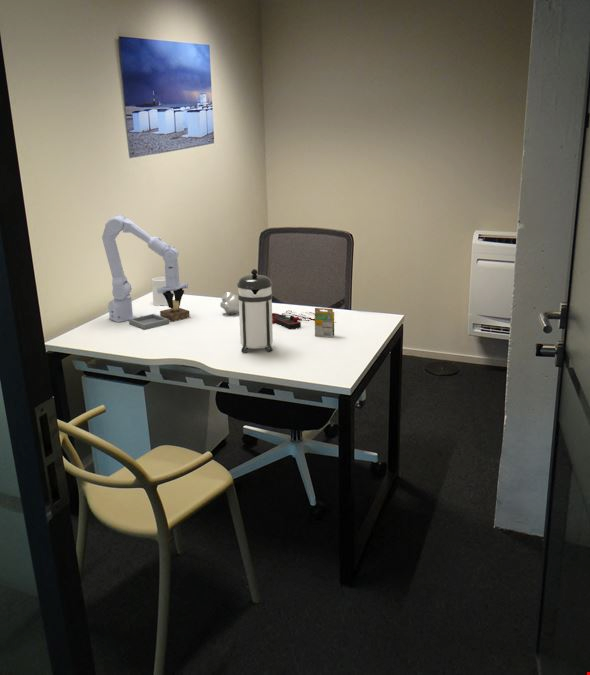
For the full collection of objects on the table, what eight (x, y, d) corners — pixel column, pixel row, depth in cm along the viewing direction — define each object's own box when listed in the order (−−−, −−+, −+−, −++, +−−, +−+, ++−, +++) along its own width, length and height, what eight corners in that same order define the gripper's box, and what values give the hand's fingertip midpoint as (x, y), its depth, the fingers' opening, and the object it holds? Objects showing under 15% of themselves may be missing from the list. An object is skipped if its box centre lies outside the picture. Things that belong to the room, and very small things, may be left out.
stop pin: (173, 316, 291) (172, 302, 289) (170, 315, 293) (169, 300, 291) (179, 315, 293) (178, 300, 291) (175, 313, 295) (174, 299, 293)
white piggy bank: (222, 311, 303) (221, 289, 300) (243, 311, 303) (242, 289, 300) (219, 316, 295) (218, 294, 291) (241, 316, 294) (240, 294, 291)
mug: (180, 303, 317) (178, 278, 313) (168, 307, 310) (166, 282, 306) (161, 300, 323) (159, 275, 319) (149, 304, 316) (147, 279, 312)
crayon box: (334, 335, 267) (334, 307, 263) (332, 337, 264) (332, 309, 260) (316, 334, 268) (316, 305, 265) (314, 336, 266) (314, 307, 262)
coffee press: (287, 347, 253) (285, 268, 244) (254, 357, 243) (252, 275, 234) (256, 337, 265) (254, 262, 256) (224, 346, 254) (220, 268, 245)
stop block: (172, 321, 288) (171, 314, 287) (160, 317, 294) (160, 311, 293) (189, 317, 294) (189, 310, 293) (177, 313, 300) (177, 307, 299)
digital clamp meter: (291, 323, 270) (259, 309, 290) (291, 333, 271) (259, 319, 291) (338, 313, 282) (304, 301, 302) (338, 323, 283) (304, 310, 303)
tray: (144, 329, 277) (144, 324, 276) (129, 323, 285) (128, 319, 285) (169, 323, 285) (169, 319, 284) (153, 318, 293) (153, 313, 293)
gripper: (163, 280, 281) (165, 311, 285) (191, 274, 290) (193, 305, 294) (153, 277, 285) (156, 308, 290) (182, 272, 295) (184, 302, 299)
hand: (174, 306), depth 292 cm, fingers closed on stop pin, 3 cm apart
